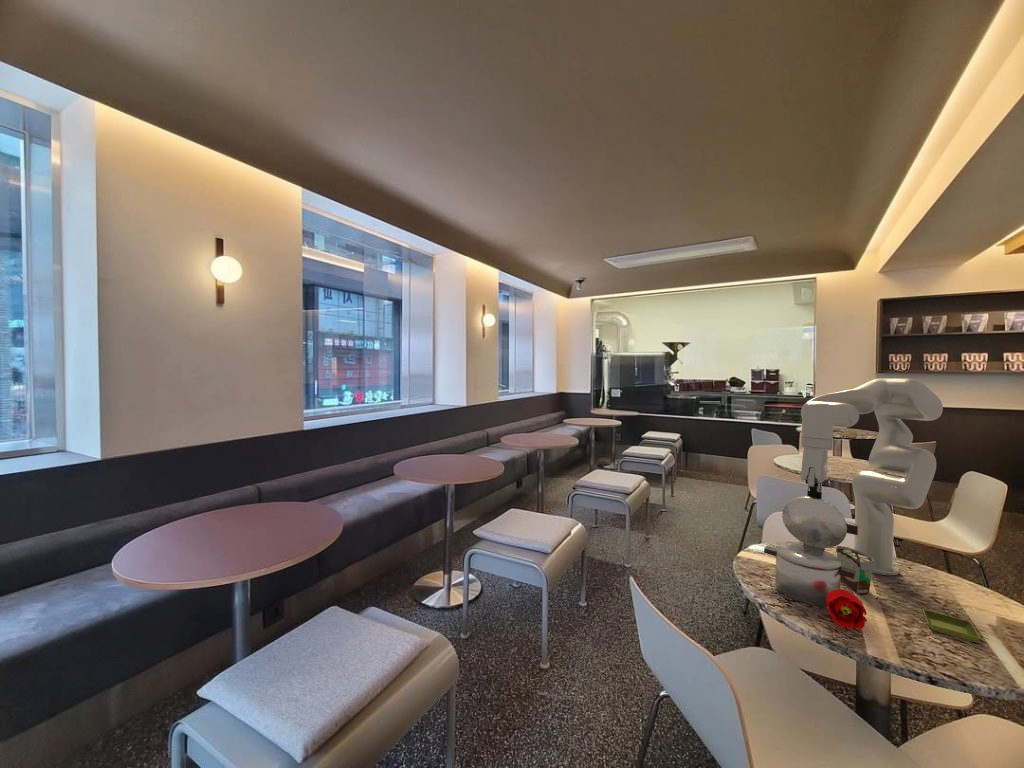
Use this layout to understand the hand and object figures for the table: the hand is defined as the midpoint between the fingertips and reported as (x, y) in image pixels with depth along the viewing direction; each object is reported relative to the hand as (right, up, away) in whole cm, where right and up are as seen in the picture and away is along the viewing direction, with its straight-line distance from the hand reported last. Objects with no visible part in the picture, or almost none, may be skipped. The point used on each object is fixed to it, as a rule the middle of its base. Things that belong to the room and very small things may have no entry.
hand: (814, 504), depth 121 cm
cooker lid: (0, -6, -2) cm, 6 cm away
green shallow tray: (+17, -25, -21) cm, 37 cm away
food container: (+12, -25, -2) cm, 27 cm away
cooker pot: (-6, -24, -5) cm, 25 cm away
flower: (-7, -24, -19) cm, 32 cm away
